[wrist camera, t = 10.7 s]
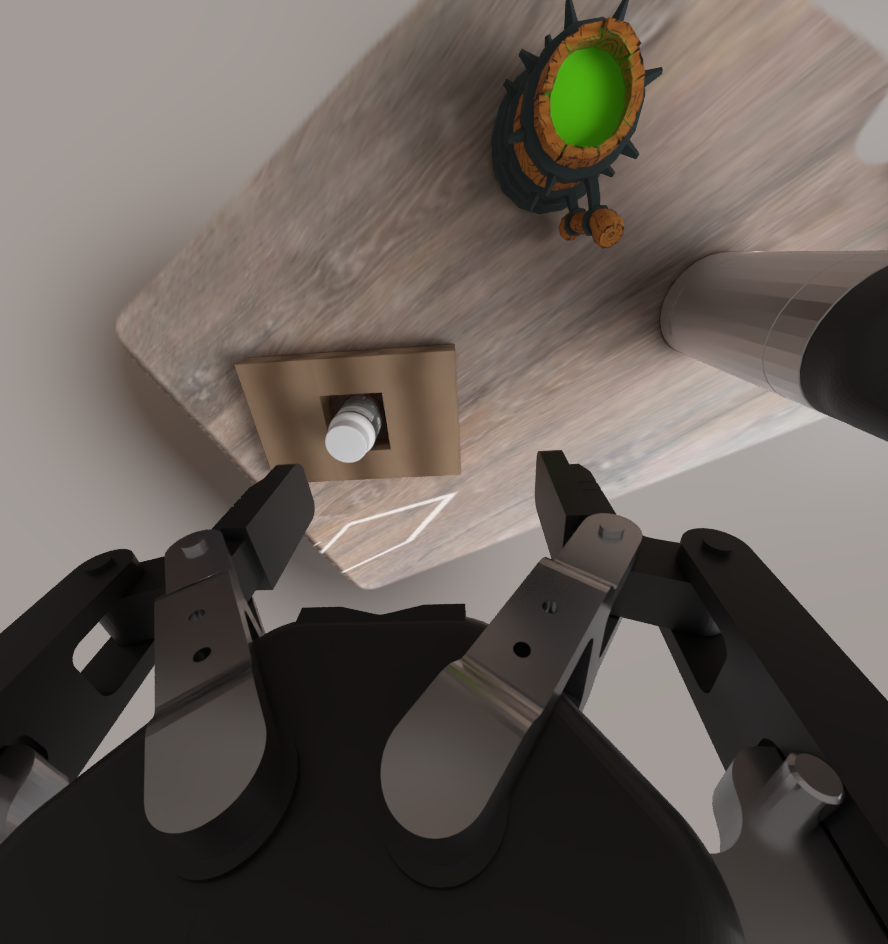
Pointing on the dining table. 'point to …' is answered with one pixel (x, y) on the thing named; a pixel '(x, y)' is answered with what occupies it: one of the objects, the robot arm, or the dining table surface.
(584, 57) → the mug
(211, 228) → the dining table surface
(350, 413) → the pill bottle
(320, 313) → the dining table surface
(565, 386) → the dining table surface
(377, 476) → the board
